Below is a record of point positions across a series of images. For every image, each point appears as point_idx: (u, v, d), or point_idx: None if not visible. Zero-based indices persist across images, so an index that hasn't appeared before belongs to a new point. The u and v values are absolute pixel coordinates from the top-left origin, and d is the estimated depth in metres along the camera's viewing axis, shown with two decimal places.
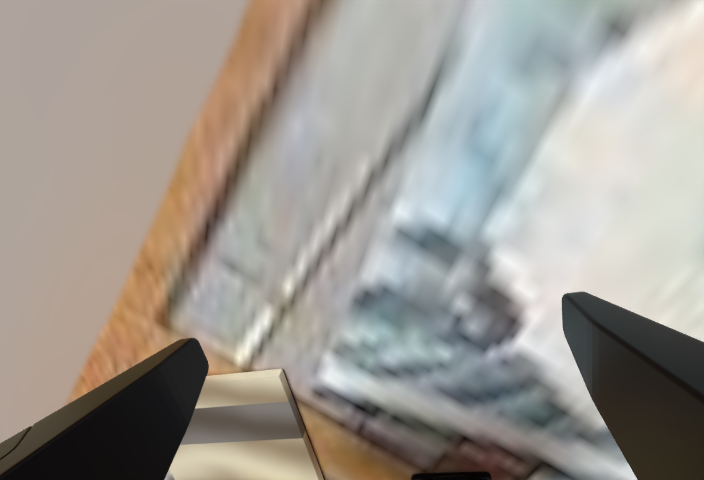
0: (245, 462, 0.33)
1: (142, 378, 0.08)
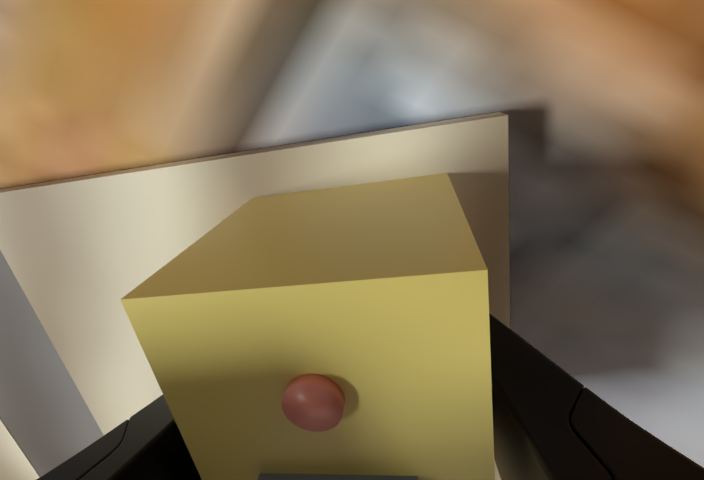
0: (138, 373, 0.12)
1: None
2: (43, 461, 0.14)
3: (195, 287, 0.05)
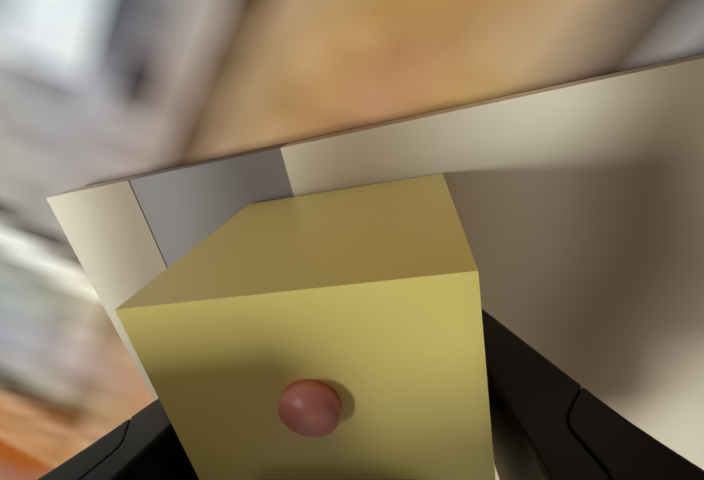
0: None
1: None
2: None
3: (189, 294, 0.05)
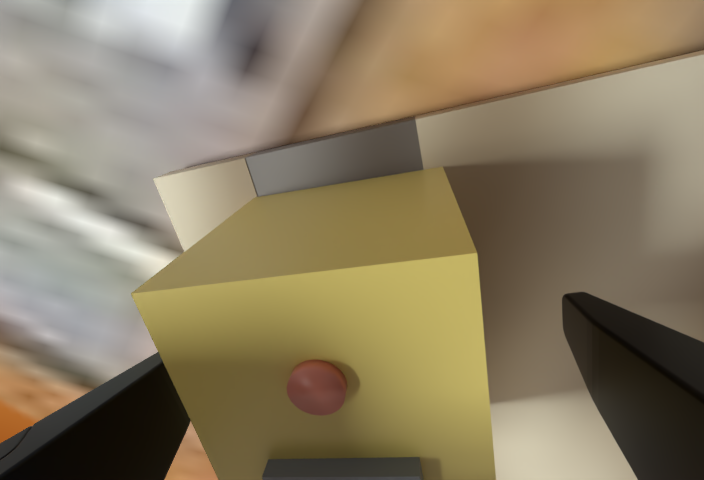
0: (553, 339, 0.10)
1: (142, 378, 0.08)
2: None
3: (201, 279, 0.05)
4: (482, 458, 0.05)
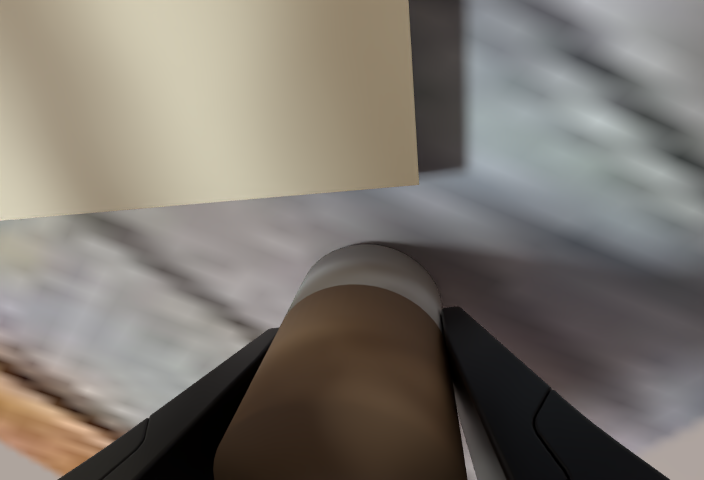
0: None
1: (250, 368, 0.07)
2: None
3: None
4: None
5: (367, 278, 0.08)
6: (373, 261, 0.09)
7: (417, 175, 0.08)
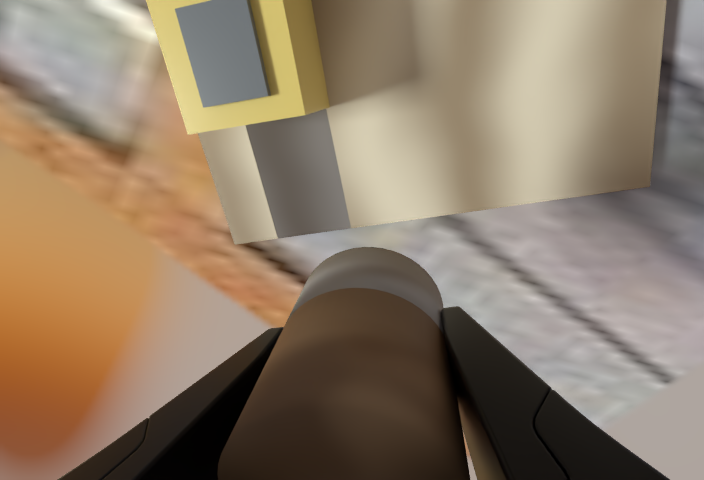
0: (372, 45, 0.16)
1: (250, 368, 0.07)
2: (269, 163, 0.19)
3: None
4: None
5: (370, 281, 0.08)
6: (375, 264, 0.09)
7: (649, 182, 0.17)
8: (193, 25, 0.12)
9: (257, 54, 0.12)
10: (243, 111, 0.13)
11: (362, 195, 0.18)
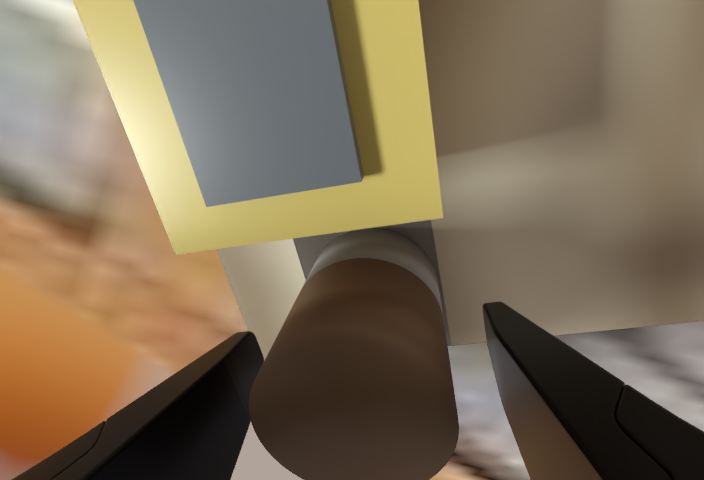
0: (518, 47, 0.08)
1: (210, 371, 0.08)
2: (318, 249, 0.11)
3: None
4: None
5: (373, 253, 0.09)
6: (378, 241, 0.10)
7: None
8: (174, 17, 0.05)
9: (340, 84, 0.05)
10: (296, 210, 0.06)
11: (475, 298, 0.11)
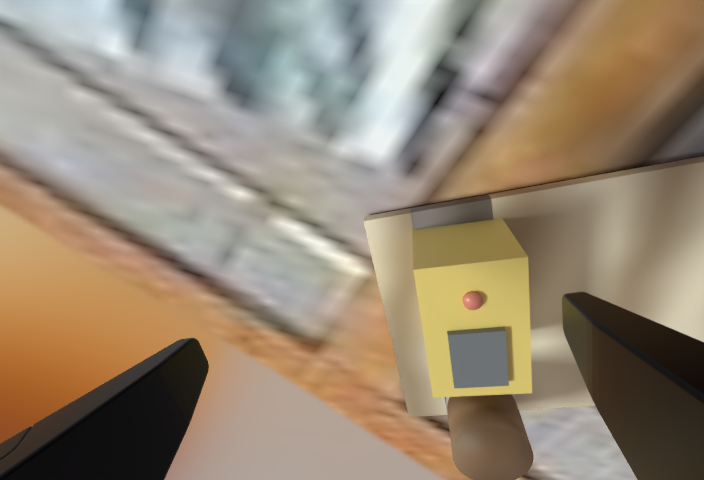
0: (551, 297, 0.20)
1: (142, 378, 0.08)
2: None
3: (436, 265, 0.16)
4: (526, 326, 0.16)
5: None
6: None
7: None
8: (459, 344, 0.17)
9: (506, 363, 0.17)
10: (482, 388, 0.18)
11: None
